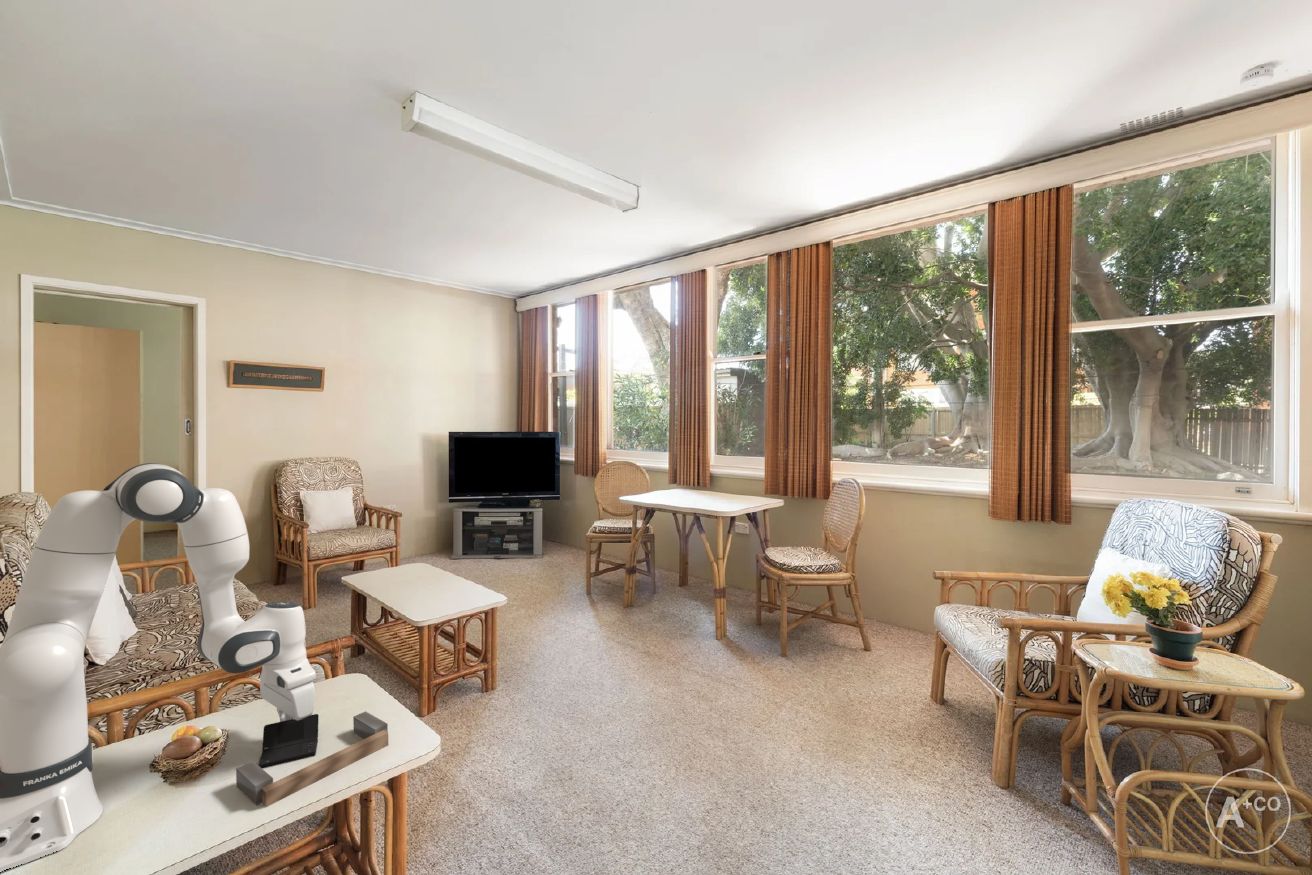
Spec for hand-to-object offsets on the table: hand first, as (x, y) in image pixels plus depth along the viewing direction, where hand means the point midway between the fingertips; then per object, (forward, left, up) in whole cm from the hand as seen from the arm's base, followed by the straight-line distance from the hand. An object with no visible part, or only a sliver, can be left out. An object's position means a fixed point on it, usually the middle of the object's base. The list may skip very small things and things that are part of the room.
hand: (286, 725), depth 132 cm
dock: (0, -17, -3) cm, 17 cm away
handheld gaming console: (-2, -6, -4) cm, 7 cm away
